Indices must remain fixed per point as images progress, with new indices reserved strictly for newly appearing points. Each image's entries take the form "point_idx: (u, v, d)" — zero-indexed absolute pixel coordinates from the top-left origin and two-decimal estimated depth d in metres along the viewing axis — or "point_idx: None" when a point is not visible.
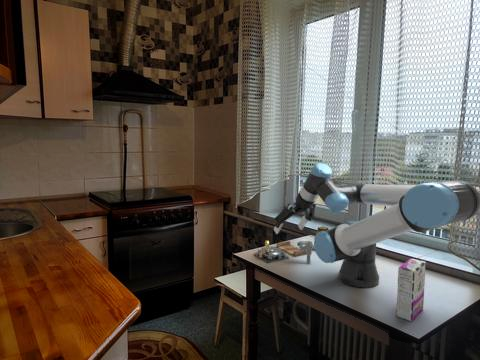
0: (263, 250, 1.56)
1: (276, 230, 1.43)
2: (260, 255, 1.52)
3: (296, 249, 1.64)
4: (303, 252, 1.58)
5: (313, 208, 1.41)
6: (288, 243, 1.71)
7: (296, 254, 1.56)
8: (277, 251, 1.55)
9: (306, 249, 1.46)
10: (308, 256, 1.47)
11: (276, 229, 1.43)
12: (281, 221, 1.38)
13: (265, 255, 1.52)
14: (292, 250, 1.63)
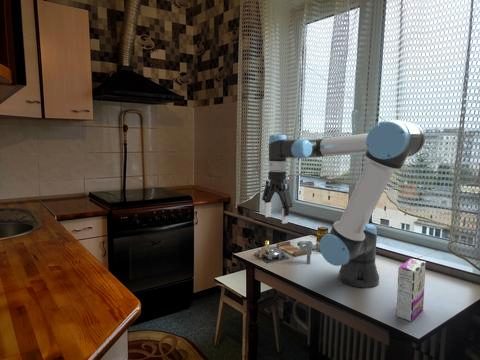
0: (263, 250, 1.56)
1: (286, 220, 1.38)
2: (260, 255, 1.52)
3: (296, 249, 1.64)
4: (303, 252, 1.58)
5: None
6: (288, 243, 1.71)
7: (296, 254, 1.56)
8: (277, 251, 1.55)
9: (306, 249, 1.46)
10: (308, 256, 1.47)
11: (285, 219, 1.38)
12: (288, 204, 1.37)
13: (265, 255, 1.52)
14: (292, 250, 1.63)
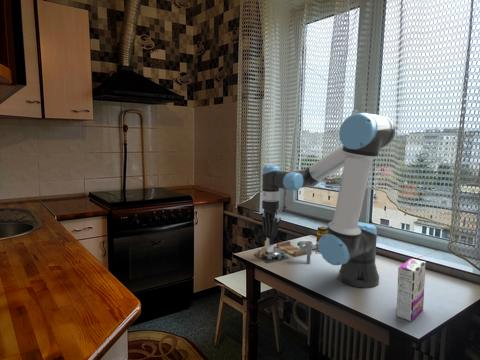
0: (263, 250, 1.56)
1: (271, 248, 1.49)
2: (260, 255, 1.52)
3: (296, 249, 1.64)
4: (303, 252, 1.58)
5: None
6: (288, 243, 1.71)
7: (296, 254, 1.56)
8: (277, 251, 1.55)
9: (306, 249, 1.46)
10: (308, 256, 1.47)
11: (271, 248, 1.48)
12: None
13: (265, 255, 1.52)
14: (292, 250, 1.63)
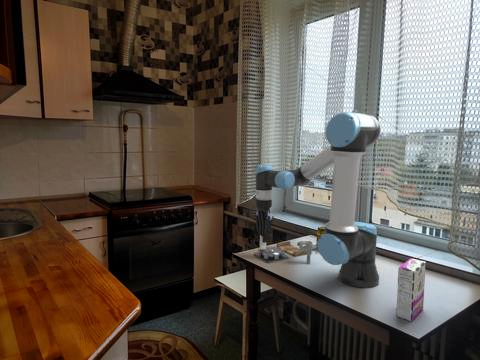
0: (267, 248, 1.59)
1: (264, 246, 1.52)
2: None
3: (296, 249, 1.64)
4: (303, 252, 1.58)
5: None
6: (288, 243, 1.71)
7: (296, 254, 1.56)
8: (273, 252, 1.53)
9: (306, 249, 1.46)
10: (308, 256, 1.47)
11: (264, 245, 1.52)
12: None
13: None
14: (292, 250, 1.63)
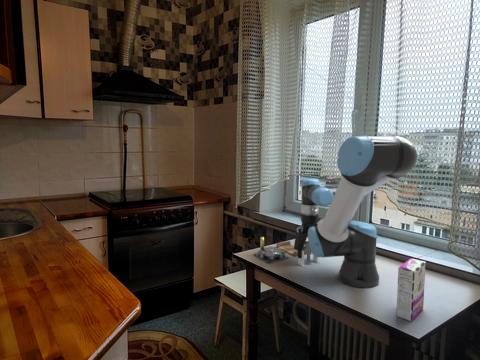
0: (270, 248, 1.59)
1: None
2: None
3: None
4: None
5: None
6: (288, 243, 1.71)
7: (296, 254, 1.56)
8: (270, 252, 1.52)
9: (306, 249, 1.46)
10: (308, 256, 1.47)
11: None
12: None
13: None
14: (292, 250, 1.63)
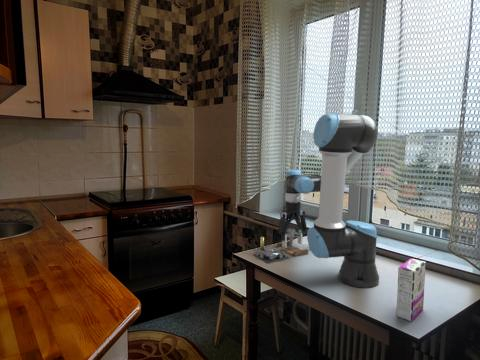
0: (270, 248, 1.59)
1: None
2: None
3: (296, 249, 1.64)
4: (303, 252, 1.58)
5: None
6: (288, 243, 1.71)
7: (296, 254, 1.56)
8: (270, 252, 1.52)
9: (289, 235, 1.62)
10: (290, 242, 1.63)
11: None
12: None
13: None
14: (292, 250, 1.63)
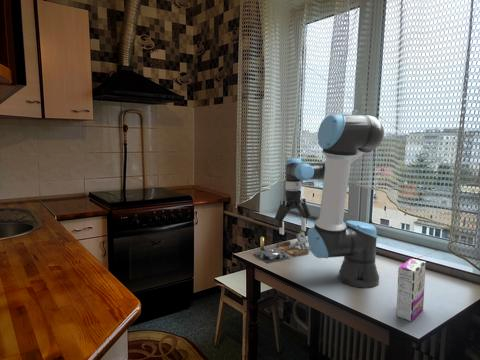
0: (270, 248, 1.59)
1: None
2: None
3: (296, 249, 1.64)
4: (303, 252, 1.58)
5: None
6: (288, 243, 1.71)
7: (296, 254, 1.56)
8: (270, 252, 1.52)
9: (300, 239, 1.63)
10: (295, 244, 1.63)
11: None
12: None
13: None
14: (292, 250, 1.63)
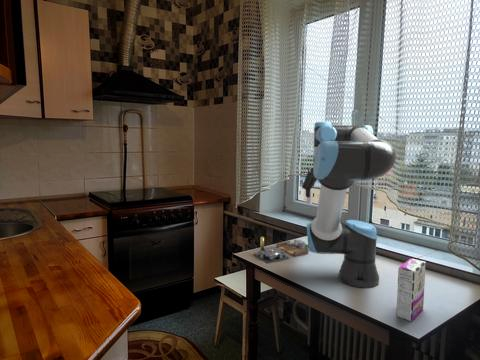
0: (270, 248, 1.59)
1: None
2: None
3: (296, 249, 1.64)
4: (303, 252, 1.58)
5: None
6: None
7: (296, 254, 1.56)
8: (270, 252, 1.52)
9: (297, 241, 1.70)
10: None
11: None
12: None
13: None
14: (292, 250, 1.63)
